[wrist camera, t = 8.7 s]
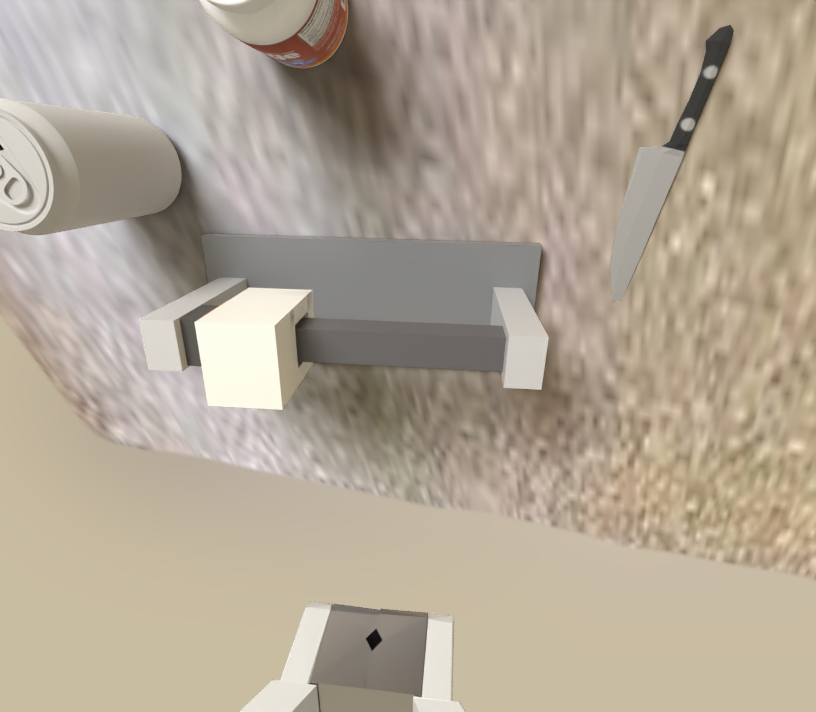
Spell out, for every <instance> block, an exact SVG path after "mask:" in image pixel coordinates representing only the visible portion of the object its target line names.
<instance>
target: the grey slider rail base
mask: <svg viewBox="0 0 816 712" xmlns="http://www.w3.org/2000/svg"><path fill="white" fill-rule="evenodd" d="M201 240H202V247H203V254H204V261H205V267H206V274H207V281H208V284H206V285H204V286H202V287H200V288H198V289H196V290H194V291H192V292H190V293H188V294H187V295H185V296H183V297H181V298H179V299H177V300H175V301H173V302H171V303H169V304H167V305H165V306H163V307H161V308H159V309H157V310H155V311H153V312H151V313H149V314H148V315H146V316H144V317H142V318H140V319H138V322H139V326H140V331H141V336H142V341H143V345H144V350H145V355H146V360H147V364H148V369H149V370H166V371H183V370H185V369H186V368H187V367H189V366H201V360H200V354H199V347H198V341H197V335H196V329H195V323H194V322H195V321H197V320H199V319H200V318H202V317H203V316H205V315H206V314H208V313H210V312H211V311H213V310H214V309H216V308H217V307H219V306H221V305H222V304H224V303H225V302H227V301H228V300H230V299H232V298H233V297H235V296H236V295H238V294H239V293H241V292H243V291H244V290H246V289H247V288H275V289H302V290H312V292H313V308H314V318H303V317H302V318H301V319H300V320H299V321H298V322H297V324H296V325H295V334H296V346H297V359H298V362H314V363H335V364H355V365H376V366H396V367H417V368H437V369H458V370H478V371H499V372H500V373H501V378H502V382H503V387H504V388H518V389H537V390H541V389H542V382H543V375H544V367H545V360H546V353H547V345H548V338H549V337H548V335H547V333H546V331H545V330H544V328H543V326H542V324H541V322H540V320H539V318H538V317H537V315H536V313H535V311H534V306H535V298H536V290H537V281H538V273H539V265H540V257H541V249H542V245H541V244H540V243H515V242H481V241H447V240H413V239H379V238H346V237H312V236H278V235H244V234H210V233H207V234H204V235H201Z"/></svg>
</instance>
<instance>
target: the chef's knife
mask: <svg viewBox="0 0 816 712" xmlns="http://www.w3.org/2000/svg"><path fill="white" fill-rule="evenodd" d="M732 35H733V28H732V27H731V25H729V26H725V27H722V28H720V29H718V30H717V31H716V32H715V33H714V34H713V35H712V36H711V37H710V38H709V39H708V40H707V41H706V54H705V58H704V62H703V66H702V70H701V73H700V75H699V78H698V80H697V83H696V85H695V88H694V90H693V92H692V95H691V97H690V100H689V102H688V104H687V106H686V108H685V110H684V112H683V114H682V116H681V118H680V120H679V122H678V124H677V126H676V129H675V131H674V133H673V135H672V138H671V140H670V142H668V143H667V144H665V145H664V146H662V147H640V148H639V151H638V154H637V158H636V161H635V165H634V168H633V171H632V175H631V178H630V182H629V185H628V189H627V192H626V195H625V199H624V202H623V206H622V209H621V212H620V216H619V219H618V223H617V226H616V231H615V236H614V241H613V248H612V255H611V263H610V278H611V292H612V299H613V302H614V301H622V298H623V296H624V294H625V292H626V289H627V287H628V285H629V282H630V280H631V278H632V276H633V273H634V271H635V269H636V266H637V264H638V262H639V260H640V257H641V255H642V253H643V250H644V248H645V246H646V243H647V241H648V239H649V236H650V234H651V231H652V229H653V227H654V224H655V222H656V220H657V217H658V215H659V213H660V210H661V208H662V206H663V203H664V201H665V199H666V196H667V194H668V192H669V189H670V187H671V184H672V182H673V180H674V177H675V175H676V173H677V170H678V168H679V166H680V163H681V161H682V159H683V156H684V153H685V150H686V147H687V145H688V142H689V140H690V138H691V135H692V133H693V131H694V128H695V126H696V123H697V121H698V119H699V116H700V114H701V112H702V109H703V107H704V105H705V102H706V100H707V97H708V95H709V93H710V90H711V88H712V86H713V83H714V81H715V79H716V76H717V74H718V72H719V69H720V67H721V65H722V62H723V60H724V57H725V55H726V53H727V50H728V48H729V45H730V42H731V38H732Z"/></svg>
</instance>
